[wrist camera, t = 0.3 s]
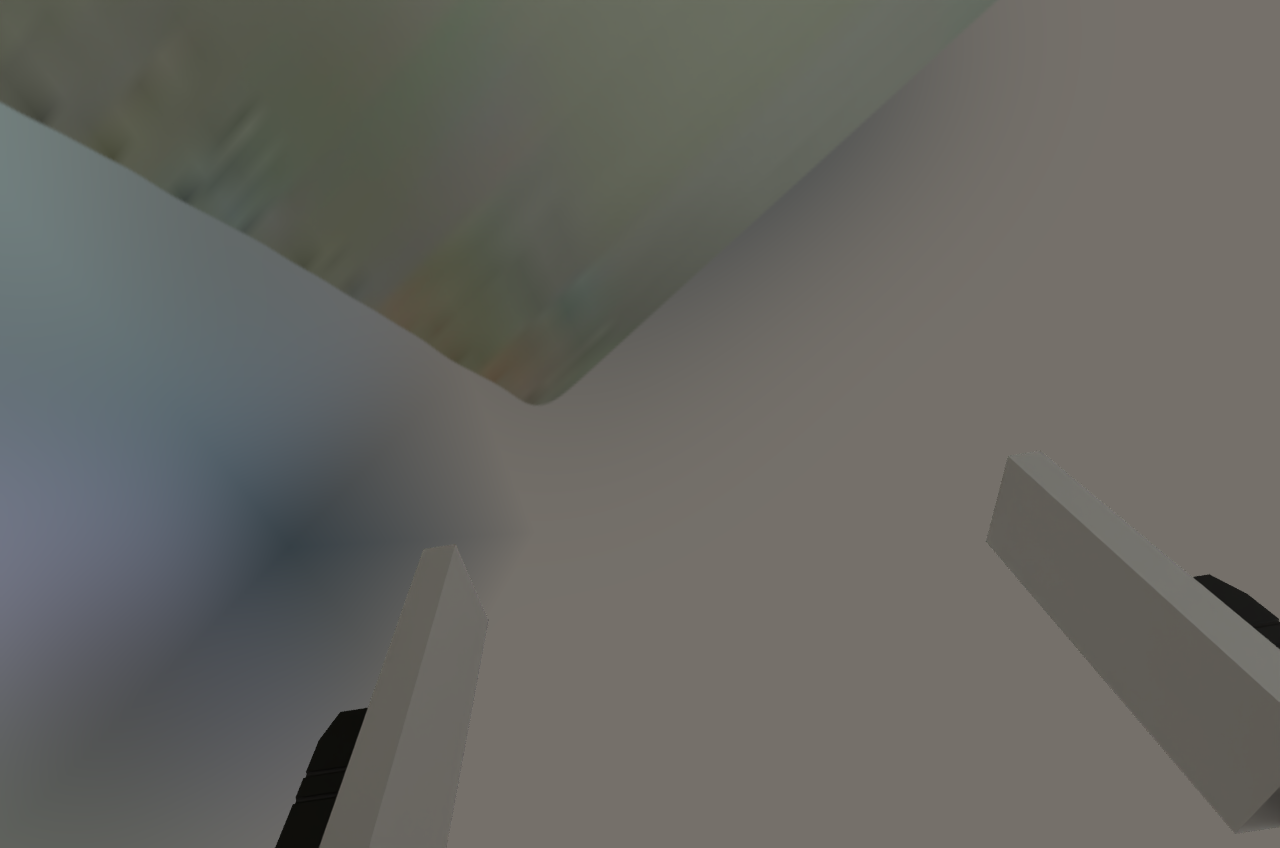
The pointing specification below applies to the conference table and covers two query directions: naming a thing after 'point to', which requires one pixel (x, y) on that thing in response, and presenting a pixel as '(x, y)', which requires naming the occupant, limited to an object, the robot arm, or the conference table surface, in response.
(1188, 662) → the robot arm
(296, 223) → the conference table surface
